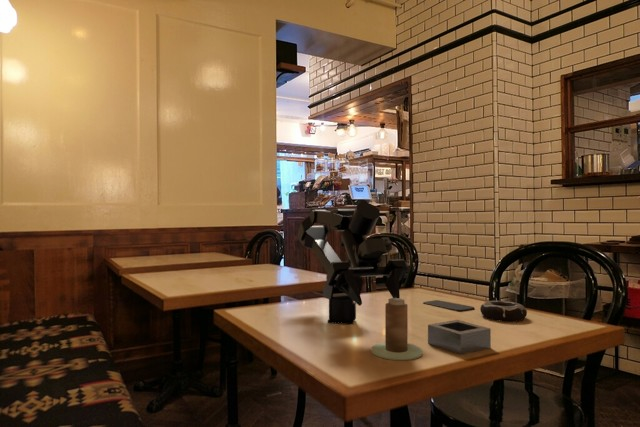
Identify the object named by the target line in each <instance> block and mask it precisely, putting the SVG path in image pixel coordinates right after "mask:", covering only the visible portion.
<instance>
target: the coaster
mask: <svg viewBox="0 0 640 427" xmlns="http://www.w3.org/2000/svg"><path fill="white" fill-rule="evenodd" d="M371 354H373V355H374V356H376V357H378V358H381V359H385V360H391V361H411V360H416V359H419V358H421V356H422V355H423V350H422V348H420V347H419V346H417V345H415V344H413V343H412V344H411V343H408V350H407V351H406V352H400V353H397V352H390V351H387V350H386V349H385V341H384V342H379V343H376V344H373V345H372V347H371Z"/></svg>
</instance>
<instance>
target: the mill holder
mask: <svg viewBox="0 0 640 427" xmlns="http://www.w3.org/2000/svg"><path fill="white" fill-rule="evenodd" d="M491 330H492V329H491V328H490V327H486V326H482V325H479V324H474V323H472V322H471V323H470V322H466V321H463V320H460V319H454V320H448V321H441V322H436V323H430V324H427V344H429V345H431V346H432V345H433V346H435V347H438V348H440V349H444V350H446V351H449V352H452V353H455V354H458V355H465V354H469V353H473V352H474V353H475V352H478V351H482V350H487V349H490V348H491V343H492V342H491V341H492V340H491V338H492V337H491V333H492V332H491Z"/></svg>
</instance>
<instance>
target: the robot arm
mask: <svg viewBox="0 0 640 427" xmlns="http://www.w3.org/2000/svg"><path fill="white" fill-rule="evenodd" d="M380 216H381V211H380V209H379V208H378V207H376V206H375V205H374V204H372V203H369V202H368V200H367V199H358V201H357V204H356V207H355V208H335V209H334V208H333V209H331V210H327V209H313V210H311V211H310V213H309V215H308V216H307V217H306V218H304V220H302V221H301V223H300V225H299V228H298V230H297V239H298V241H299V242H300V243H301V245H302V246H303V247H304V248H307V249H309V250H310V249H311V250H312V251H313V253H314V255H316V258H317V259H318V261H319V263H320V264H321V265H322V267H323V268H324V270H325V271H326V273H327V274H326V282H325V284H324V286H323V288H322V293H323V298H325V299H327V300H328V320H327V323H328V324H344V325H345V324H346V325H352V324H354V321H356V319H357V306H362V304H363V300H362V297H361V293H362V286H363V279H362V277H363V278H364V277H365V278H366V277H367V278H369V277H382V278H383V281H385V283H384V285H385V287H386V289H387V290H388V292H389V294H390V296H391V297H392V298H400V282H401V281H402V278H403V277H404V275H405V274H406V272H407V271H408V270H409V266H408V264H407V262H406V260H405V259H389V260H388V261H387V263H386V264H385V266H379V264H380V263H381V262H382V256H383V255H384V254H387V253H389V252H391V251H392V250H393V244H392V241H391V240H390V238H389V237H388V236H387V237H385V236H384V237H383V236H382V237H381V238H367V236H369V235H371V233H372V232H373V229H374V228H375V226H376V223H377V221H378V219H379V218H380ZM315 224H323V225H315ZM329 227H330V229H331V230H333V231H335V232H342V234H341V236H340V238H341V240H340V243H339V245H340V247H344V248H345V251H346V254H347V257H346V261H342V260H341V259H340V257H339V256H338V253H336V252H335V250H334V248H333V247H332V246H331V244H329V242H328V241H327V237H328V236H329V234H330V229H329ZM400 299H401V298H400Z"/></svg>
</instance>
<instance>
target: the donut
mask: <svg viewBox="0 0 640 427" xmlns="http://www.w3.org/2000/svg"><path fill="white" fill-rule="evenodd" d="M479 309H480V313H481V315H482V316H483V317H485V318H487V319H488V318H489V319H488V320H492V319H493V320H492V321H497V320H498V322H505V321H508V323H509V322H510V323H511V322H512V323H513V321H516V322H520V321H523V320H525V318H526V317H527V314H528V310H527V309H526V307H525V306H524V305H523V304H521V303H518V302H514V301H507V300H489V301H485V302H483V303H482V304H481V305H480V308H479Z"/></svg>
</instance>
